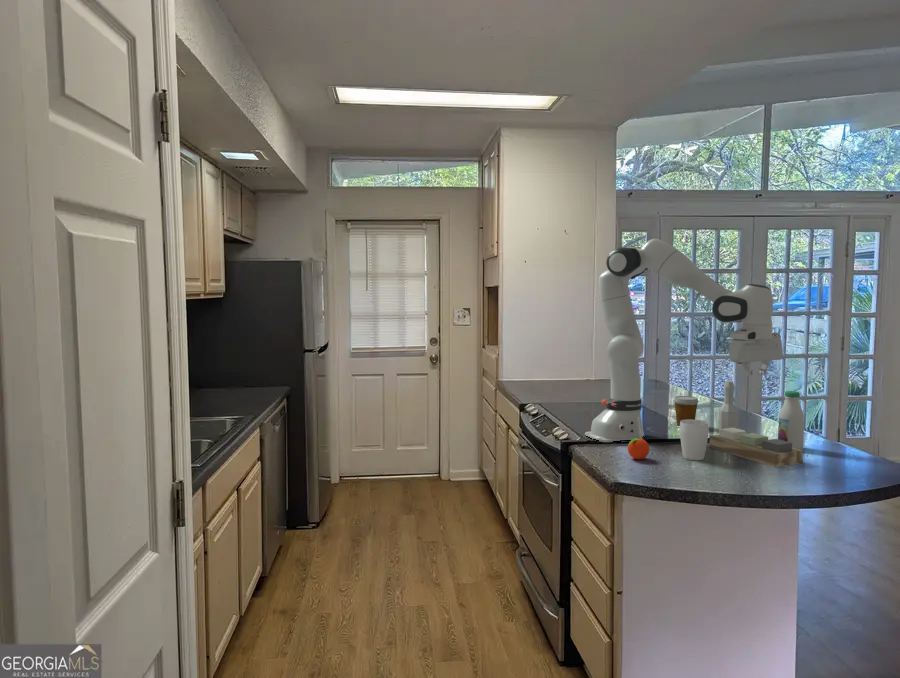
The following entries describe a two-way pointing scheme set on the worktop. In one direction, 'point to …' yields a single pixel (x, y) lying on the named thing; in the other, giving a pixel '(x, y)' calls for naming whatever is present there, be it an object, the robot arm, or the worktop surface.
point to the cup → (694, 438)
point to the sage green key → (752, 439)
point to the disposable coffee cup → (685, 408)
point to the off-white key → (731, 433)
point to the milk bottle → (791, 421)
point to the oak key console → (756, 452)
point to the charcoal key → (777, 445)
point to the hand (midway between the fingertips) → (755, 374)
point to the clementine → (638, 448)
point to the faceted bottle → (728, 408)
